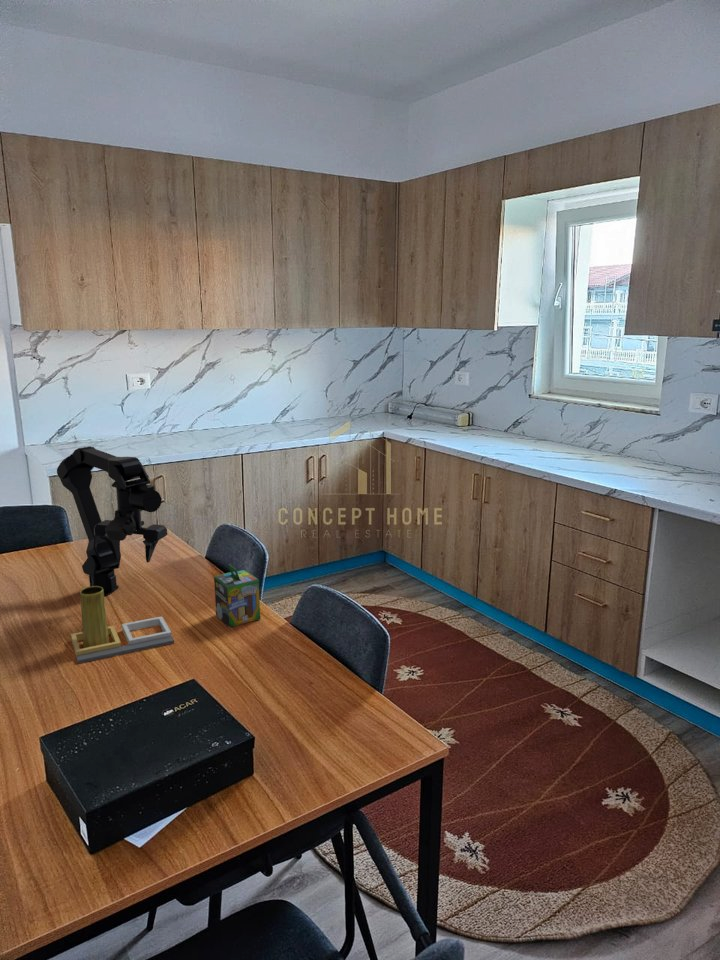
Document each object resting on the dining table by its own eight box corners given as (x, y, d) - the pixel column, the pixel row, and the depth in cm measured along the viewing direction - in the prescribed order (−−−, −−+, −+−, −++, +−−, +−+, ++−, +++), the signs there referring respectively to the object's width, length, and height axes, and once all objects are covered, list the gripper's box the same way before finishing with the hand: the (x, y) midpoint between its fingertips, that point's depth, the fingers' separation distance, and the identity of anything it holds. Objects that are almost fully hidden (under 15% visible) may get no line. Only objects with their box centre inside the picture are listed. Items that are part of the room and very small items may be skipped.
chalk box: (261, 620, 180) (260, 567, 177) (228, 628, 175) (226, 574, 172) (246, 607, 188) (244, 556, 184) (214, 615, 183) (212, 563, 179)
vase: (114, 644, 166) (110, 589, 163) (91, 653, 162) (86, 597, 158) (101, 636, 170) (96, 582, 166) (78, 645, 165) (72, 590, 162)
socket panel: (77, 663, 157) (77, 656, 157) (71, 640, 168) (70, 633, 167) (174, 643, 167) (173, 636, 167) (162, 622, 178) (162, 616, 177)
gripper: (79, 510, 175) (84, 567, 179) (144, 516, 171) (148, 574, 175) (104, 499, 186) (108, 553, 190) (166, 504, 182) (169, 559, 186)
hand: (132, 560), depth 185 cm, fingers open, 9 cm apart
